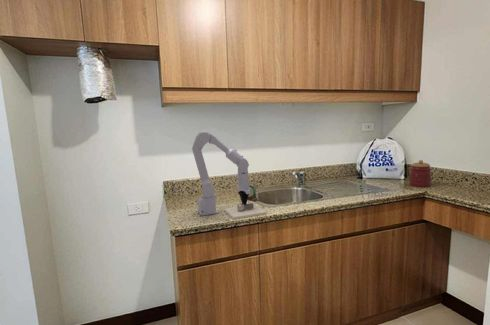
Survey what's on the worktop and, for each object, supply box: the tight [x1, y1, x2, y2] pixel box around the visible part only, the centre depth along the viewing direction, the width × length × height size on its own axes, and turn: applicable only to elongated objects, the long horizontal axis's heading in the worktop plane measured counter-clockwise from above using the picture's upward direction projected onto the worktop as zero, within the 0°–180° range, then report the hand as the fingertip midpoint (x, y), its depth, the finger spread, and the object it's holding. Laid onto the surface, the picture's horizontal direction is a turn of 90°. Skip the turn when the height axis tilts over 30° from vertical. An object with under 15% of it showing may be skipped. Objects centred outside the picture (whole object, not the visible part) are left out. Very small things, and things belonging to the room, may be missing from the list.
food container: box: [247, 182, 258, 202], centre depth 171 cm, size 12×6×10 cm, turn 44°
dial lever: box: [236, 202, 254, 211], centre depth 145 cm, size 9×4×3 cm, turn 111°
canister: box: [408, 159, 433, 188], centre depth 188 cm, size 13×13×18 cm
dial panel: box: [223, 203, 267, 221], centre depth 145 cm, size 18×16×1 cm
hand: (244, 204), depth 151 cm, fingers closed
